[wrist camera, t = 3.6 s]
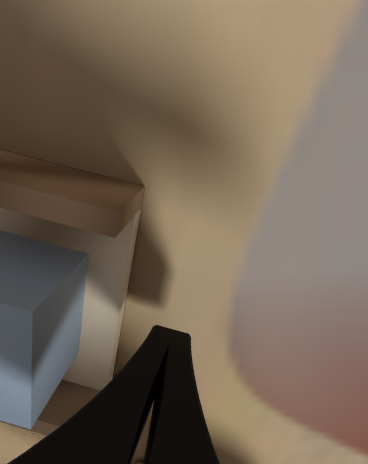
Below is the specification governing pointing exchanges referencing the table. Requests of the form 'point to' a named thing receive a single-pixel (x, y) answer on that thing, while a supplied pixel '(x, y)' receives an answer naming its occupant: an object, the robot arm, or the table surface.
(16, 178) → the lane
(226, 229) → the table surface
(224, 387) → the table surface
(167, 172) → the table surface
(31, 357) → the block
